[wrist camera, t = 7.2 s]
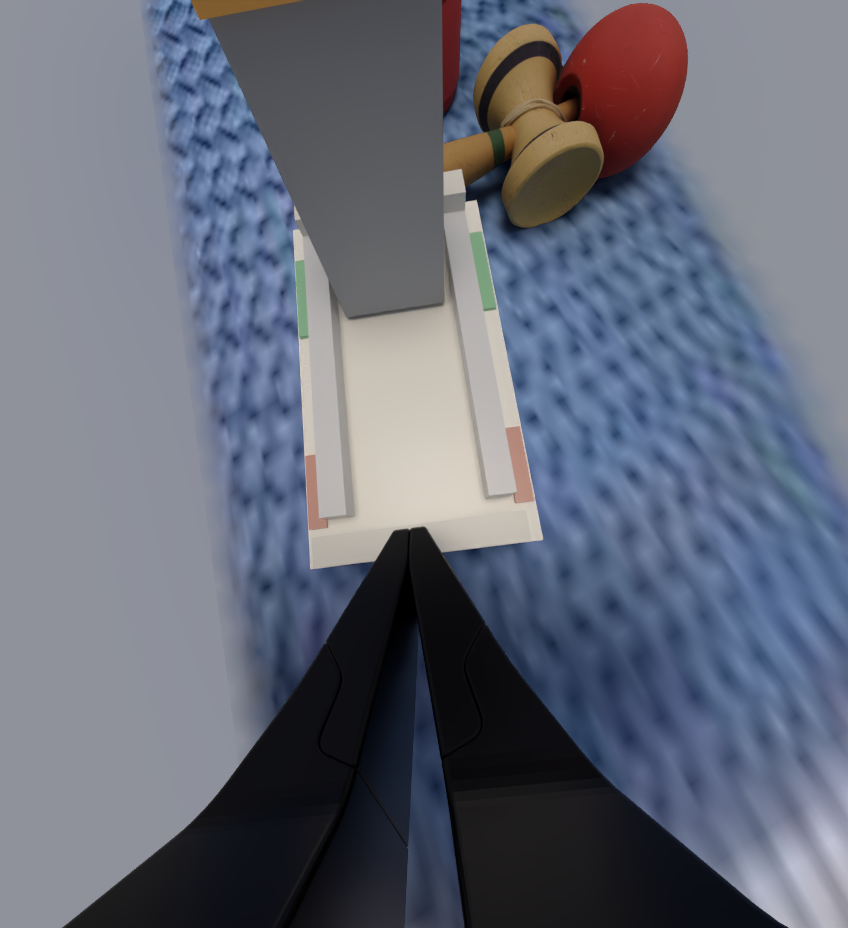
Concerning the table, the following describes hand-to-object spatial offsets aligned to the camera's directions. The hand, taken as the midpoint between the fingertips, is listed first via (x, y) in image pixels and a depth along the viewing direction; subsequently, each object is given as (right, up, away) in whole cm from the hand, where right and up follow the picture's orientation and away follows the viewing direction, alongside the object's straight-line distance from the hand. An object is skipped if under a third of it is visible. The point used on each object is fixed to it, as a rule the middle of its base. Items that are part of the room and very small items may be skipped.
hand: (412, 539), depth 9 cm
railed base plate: (0, +6, +9) cm, 10 cm away
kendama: (+4, +18, +12) cm, 22 cm away
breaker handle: (-1, +10, +6) cm, 12 cm away
